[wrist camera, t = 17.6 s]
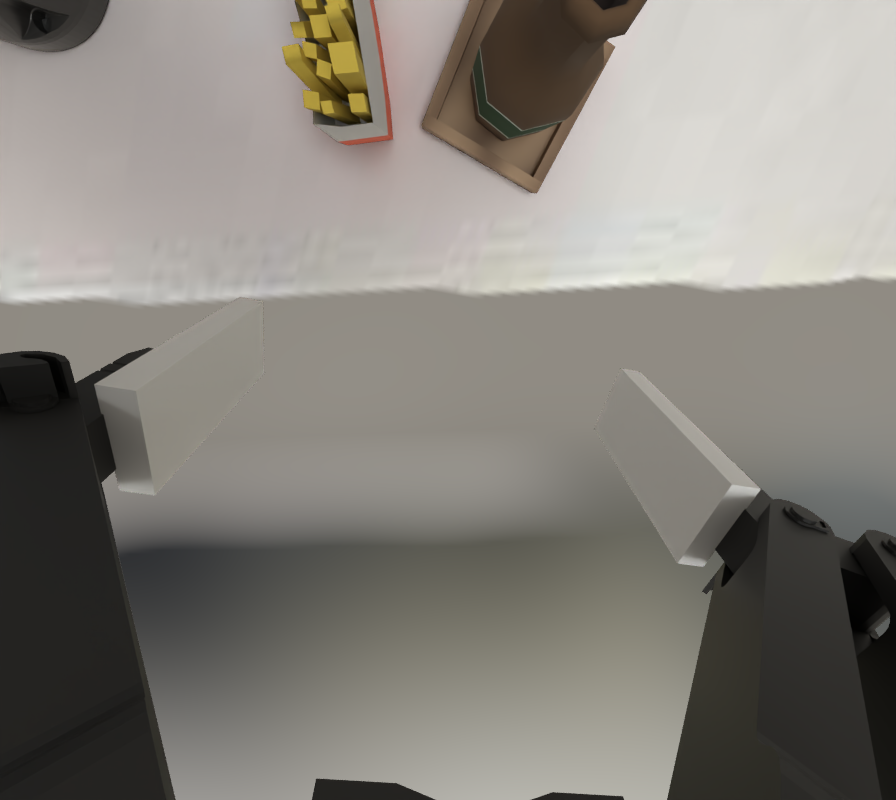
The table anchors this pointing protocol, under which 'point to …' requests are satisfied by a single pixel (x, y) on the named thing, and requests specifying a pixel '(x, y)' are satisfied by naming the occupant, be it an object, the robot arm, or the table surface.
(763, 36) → the table surface
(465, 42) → the wooden tray
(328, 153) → the table surface
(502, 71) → the beer bottle
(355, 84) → the french fries container
